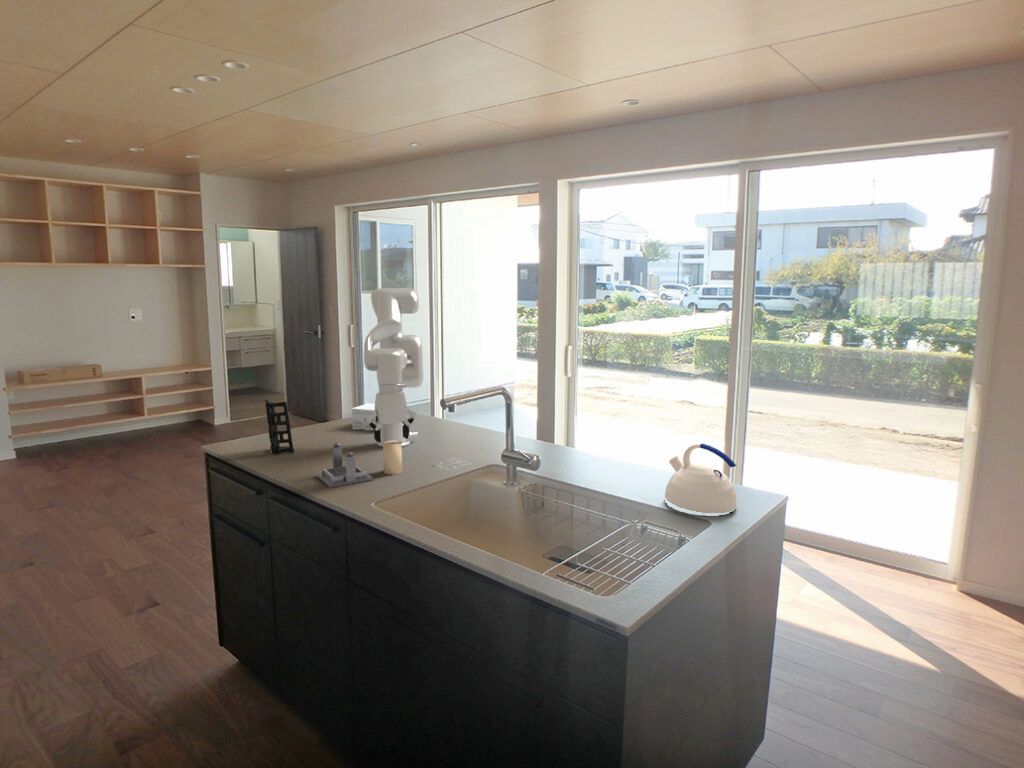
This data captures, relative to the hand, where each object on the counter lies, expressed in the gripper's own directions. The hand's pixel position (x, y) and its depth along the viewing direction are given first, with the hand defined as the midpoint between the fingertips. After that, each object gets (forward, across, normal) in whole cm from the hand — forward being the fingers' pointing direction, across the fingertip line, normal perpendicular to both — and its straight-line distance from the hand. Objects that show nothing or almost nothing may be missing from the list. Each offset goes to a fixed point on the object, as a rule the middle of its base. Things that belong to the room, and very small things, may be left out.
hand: (392, 439), depth 211 cm
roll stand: (+11, +16, -3) cm, 19 cm away
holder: (+10, +26, -46) cm, 54 cm away
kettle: (+13, -63, +75) cm, 99 cm away
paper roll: (+11, 0, -1) cm, 11 cm away
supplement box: (+10, -19, -64) cm, 67 cm away
